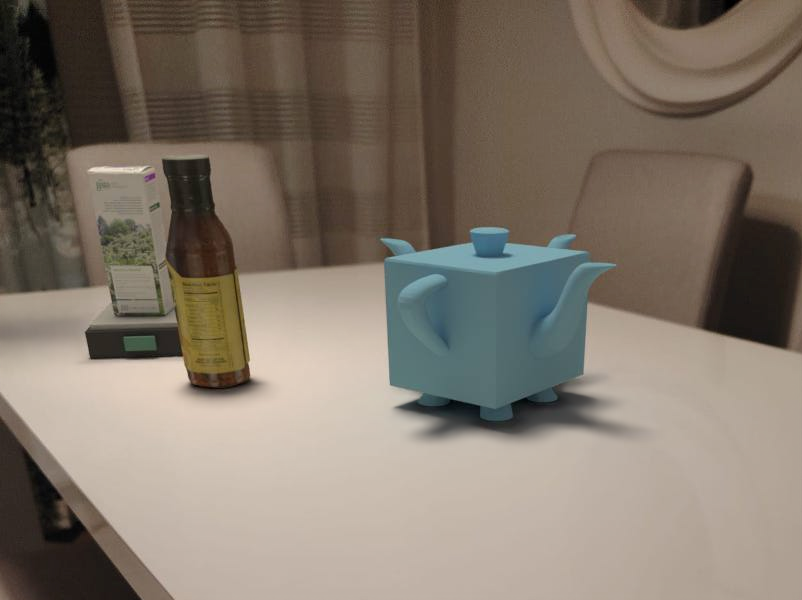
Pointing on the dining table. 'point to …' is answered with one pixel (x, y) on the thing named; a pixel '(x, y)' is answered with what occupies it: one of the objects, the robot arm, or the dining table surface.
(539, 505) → the dining table surface
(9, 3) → the robot arm
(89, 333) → the scale
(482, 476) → the dining table surface
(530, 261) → the teakettle
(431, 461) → the dining table surface
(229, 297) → the sauce bottle
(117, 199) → the syrup box
